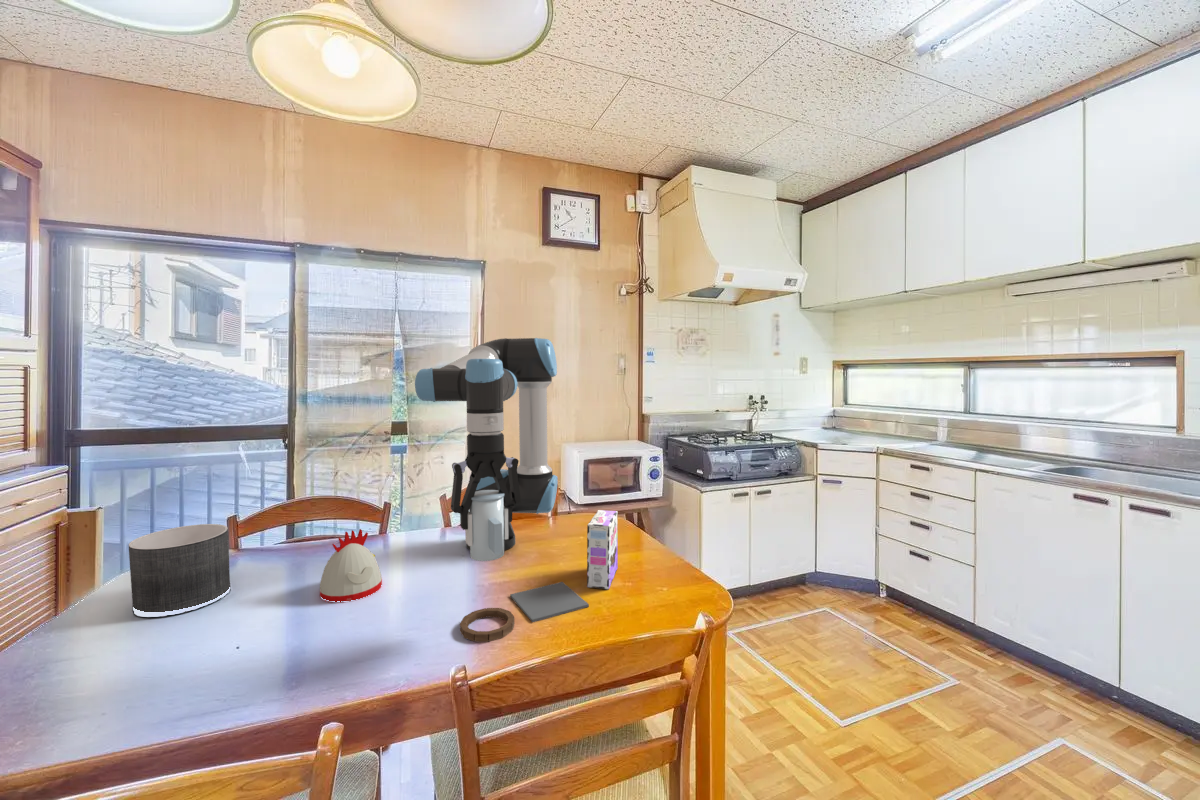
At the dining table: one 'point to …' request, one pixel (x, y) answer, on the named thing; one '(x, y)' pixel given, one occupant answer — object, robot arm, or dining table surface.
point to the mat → (548, 601)
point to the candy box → (602, 549)
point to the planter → (179, 567)
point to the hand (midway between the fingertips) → (487, 540)
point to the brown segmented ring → (487, 635)
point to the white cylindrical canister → (487, 525)
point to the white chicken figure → (350, 571)
